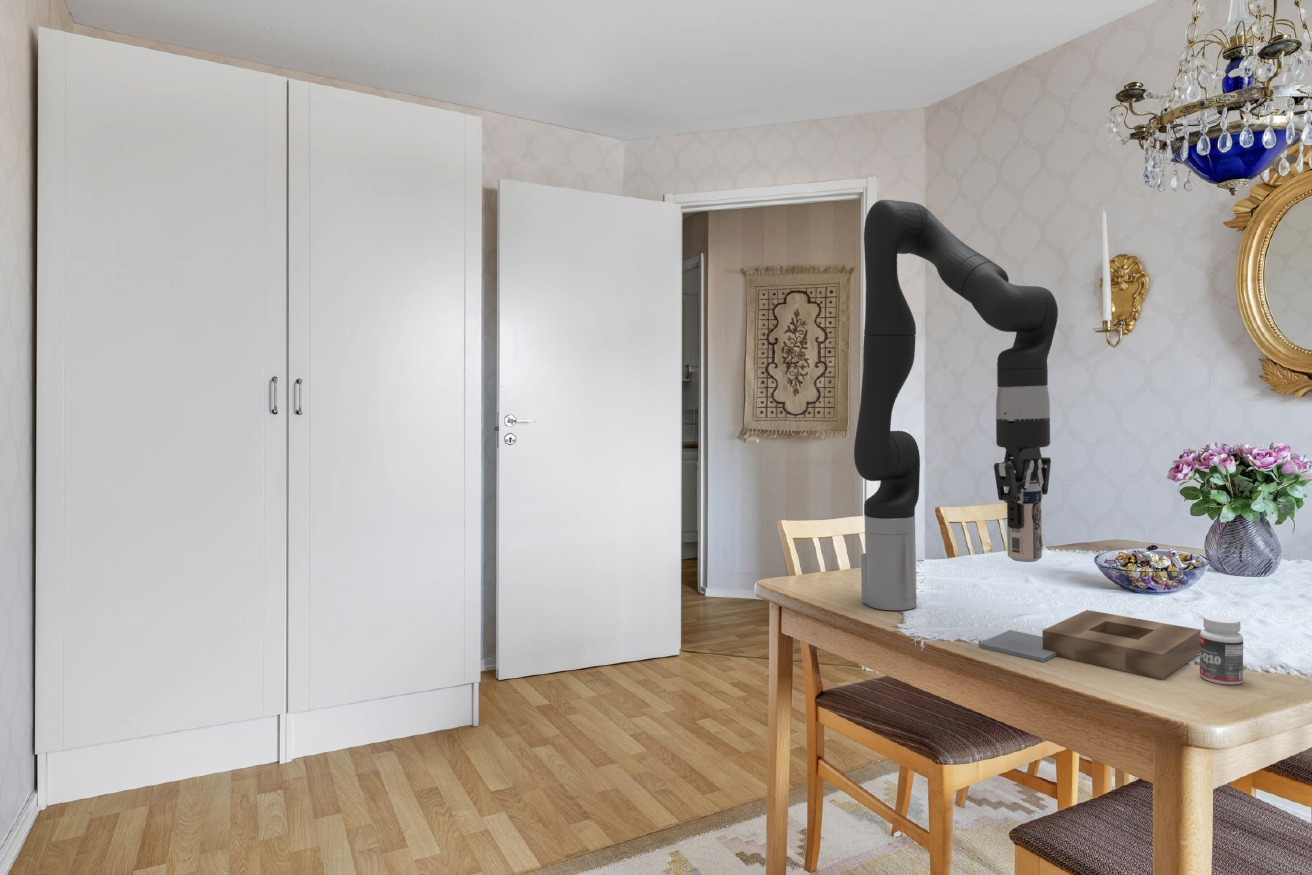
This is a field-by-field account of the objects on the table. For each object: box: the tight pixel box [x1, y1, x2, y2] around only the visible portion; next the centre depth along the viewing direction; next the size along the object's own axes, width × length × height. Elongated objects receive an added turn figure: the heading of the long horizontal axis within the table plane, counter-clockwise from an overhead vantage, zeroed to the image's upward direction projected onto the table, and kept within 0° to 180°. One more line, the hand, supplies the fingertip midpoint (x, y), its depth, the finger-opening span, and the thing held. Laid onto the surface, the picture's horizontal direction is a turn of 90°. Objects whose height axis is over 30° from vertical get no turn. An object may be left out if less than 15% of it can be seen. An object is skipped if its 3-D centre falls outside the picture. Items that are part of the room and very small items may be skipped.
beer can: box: [1006, 482, 1043, 563], centre depth 119 cm, size 5×5×12 cm
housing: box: [1042, 609, 1202, 681], centre depth 116 cm, size 16×16×4 cm
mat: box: [978, 629, 1057, 663], centre depth 120 cm, size 10×10×1 cm
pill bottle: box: [1199, 614, 1244, 686], centre depth 104 cm, size 5×5×8 cm
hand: (1023, 525), depth 119 cm, fingers closed on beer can, 4 cm apart
